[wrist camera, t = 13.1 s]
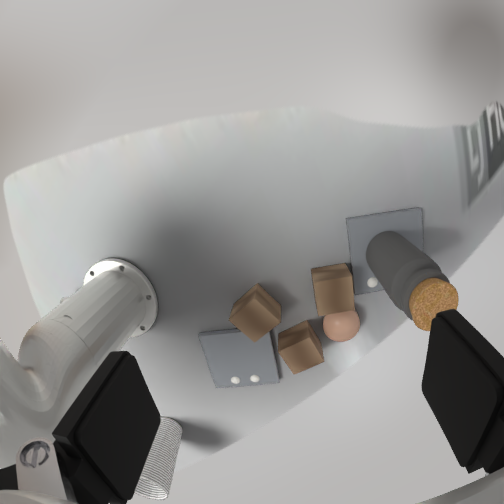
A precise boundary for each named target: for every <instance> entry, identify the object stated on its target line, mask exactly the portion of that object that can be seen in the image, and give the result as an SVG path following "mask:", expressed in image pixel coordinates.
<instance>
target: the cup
mask: <svg viewBox="0 0 504 504" xmlns="http://www.w3.org/2000/svg"><path fill="white" fill-rule="evenodd" d="M181 437H182V427H181V426H180V424H178V423H177V422H176V421H174V420H173V419H171V418H167V417H161V422H160V426H159V428H158V431H157V433H156V436H155V439H154V441H153V444H152V447H151V449H150V452H149V454H148V457H147V460H146V462H145V465H144V468H143V470H142V473H141V476H140V478H139V481H138V484H137V487H136V489H135V492H134V493H136V494H138V495H141V496H143V497H147V498H149V499H155V500H164V499H166V498H168V496H169V491H170V487H171V482H172V477H173V473H174V468H175V463H176V459H177V454H178V450H179V445H180V441H181Z"/></svg>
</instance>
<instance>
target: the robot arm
mask: <svg viewBox="0 0 504 504" xmlns="http://www.w3.org/2000/svg"><path fill="white" fill-rule="evenodd" d="M157 312H158V302H157V297H156V293H155V291H154V289H153V286H152V284H151V283H150V281H149V280H148V278H147V277H146V276H145V275H144V274H143V273H142V272H141V271H140V270H139V269H138V268H137V267H135V266H134V265H132V264H130V263H129V262H126V261H124V260H121V259H115V258H110V259H104V260H101V261H99V262H97V263H96V264H94V265H93V266H92V267H91V268H90V269H89V270H88V272H87V273H86V275H85V278H84V282H83V287H81V288H80V289H79V290H77V291H76V292H75V293H74V294H72V295H71V296H70V297H63V298H62V299H61V301H60V305H58V306H57V307H56V308H54V309H53V310H52V311H51V312H50V313H48V314H47V315H46V316H45V317H43V318H42V319H41V320H40V321H38V322H37V323H36V324H35V325H34V326H32V327H31V328H30V329H29V330H28V332H27V333H26V335H25V337H24V338H23V341H22V343H21V346H20V350H19V354H18V361H16V360H15V359H14V357H13V356H12V354H11V353H10V352H9V350H8V349H7V347H6V346H5V344H4V343H3V341H2V340H1V338H0V468H1V469H0V504H108V503H110V504H126V503H127V500H130V499H131V498H132V497H133V494H134V492H135V489H136V487H137V484H138V481H139V478H140V476H141V473H142V470H143V468H144V465H145V462H146V460H147V457H148V454H149V452H150V449H151V447H152V444H153V441H154V439H155V436H156V433H157V431H158V428H159V426H160V422H161V417H160V413H159V411H158V409H157V407H156V405H155V403H154V400H153V398H152V396H151V394H150V392H149V389H148V387H147V385H146V382H145V380H144V378H143V375H142V373H141V370H140V368H139V366H138V363H137V361H136V358H135V357H134V356H132V355H131V354H130V353H129V352H127V351H120V350H121V348H122V347H123V346H124V344H125V343H126V342H127V340H128V339H129V338H130V337H136V336H139V335H142V334H144V333H145V332H147V331H148V330H149V329H150V327H151V326H152V325H153V323H154V322H155V320H156V317H157ZM422 392H423V394H424V396H425V398H426V400H427V402H428V404H429V405H430V407H431V409H432V411H433V413H434V415H435V417H436V419H437V421H438V422H439V424H440V426H441V428H442V430H443V432H444V434H445V436H446V438H447V440H448V442H449V444H450V446H451V448H452V450H453V452H454V454H455V456H456V458H457V460H458V462H459V464H460V466H461V467H466V469H467V471H468V473H472V472H474V471H476V470H478V469H480V468H482V467H483V468H484V470H485V472H486V474H485V477H484V478H481V479H479V480H477V481H474V482H472V483H470V484H467V485H465V486H463V487H461V488H458V489H455V490H453V491H450V492H448V493H445V494H443V495H440V496H437V497H435V498H432V499H429V500H426V501H423V502H421V503H418V504H504V358H503V356H502V355H501V354H500V353H499V352H498V351H497V350H496V349H495V348H494V347H493V346H492V345H491V344H490V343H489V342H488V341H487V340H486V339H485V338H484V337H483V336H482V335H481V334H480V333H479V332H478V331H477V330H476V329H475V328H474V327H473V326H472V325H471V324H470V323H469V322H468V321H467V320H466V319H465V318H464V317H463V316H462V315H461V314H460V313H459V312H458V311H457V310H455V309H449V310H445V311H441V312H438V313H437V314H436V317H435V318H433V319H432V321H431V329H430V336H429V344H428V351H427V357H426V363H425V370H424V374H423V380H422Z"/></svg>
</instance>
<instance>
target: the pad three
mask: <svg viewBox="0 0 504 504" xmlns="http://www.w3.org/2000/svg"><path fill="white" fill-rule="evenodd" d="M346 223H347V231H348V240H349V249H350V259H351V270H352V280H353V292H354V294H355V295H359V294H364V293H370V292H375V291H380V290H385V289H384V288H383V286H382V285H381V284H380V282H379V281H378V279H377V278H376V276H375V275H374V273H373V272H372V270H371V269H370V267H369V266H368V264H367V260H366V250H367V246H368V244H369V242H370V241H371V240H372V238H373V237H375V236H376V235H377V234H379V233H381V232H384V231H393V232H396V233H398V234H400V235H401V236H403V237H404V238H405V239H407V240H408V241H409V242H411V243H412V244H413V245H415V246H416V247H417V248H418V249H420V250H421V251H422V252H423V226H422V210H421V208H411V209H405V210H398V211H391V212H385V213H378V214H371V215H365V216H359V217H352V218H346Z"/></svg>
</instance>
